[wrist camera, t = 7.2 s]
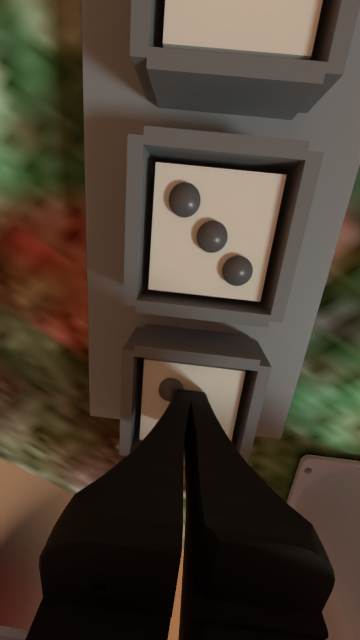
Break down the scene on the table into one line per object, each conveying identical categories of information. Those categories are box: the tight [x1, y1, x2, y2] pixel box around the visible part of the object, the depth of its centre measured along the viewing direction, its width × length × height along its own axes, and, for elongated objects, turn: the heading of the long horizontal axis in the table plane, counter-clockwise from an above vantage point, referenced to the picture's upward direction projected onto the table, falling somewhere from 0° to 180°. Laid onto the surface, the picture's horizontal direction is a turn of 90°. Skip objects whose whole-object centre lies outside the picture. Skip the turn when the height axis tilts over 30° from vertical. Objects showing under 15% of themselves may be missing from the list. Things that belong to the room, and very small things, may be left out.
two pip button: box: [139, 358, 246, 441], centre depth 13 cm, size 4×4×2 cm
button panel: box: [81, 0, 360, 467], centre depth 11 cm, size 21×11×5 cm, turn 174°
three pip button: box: [148, 162, 286, 302], centre depth 10 cm, size 4×4×2 cm
